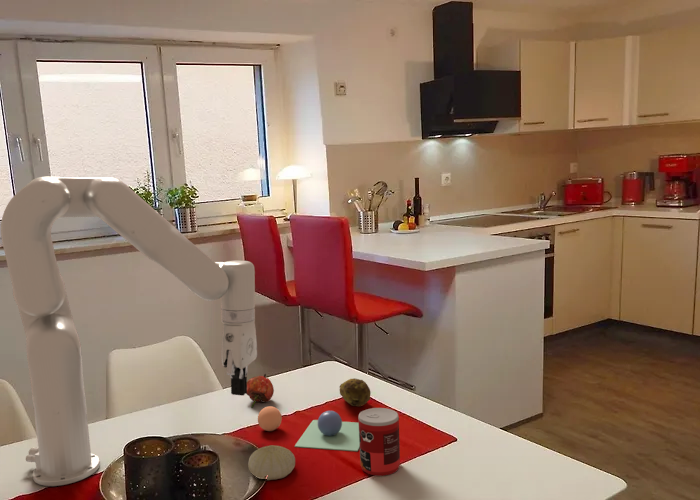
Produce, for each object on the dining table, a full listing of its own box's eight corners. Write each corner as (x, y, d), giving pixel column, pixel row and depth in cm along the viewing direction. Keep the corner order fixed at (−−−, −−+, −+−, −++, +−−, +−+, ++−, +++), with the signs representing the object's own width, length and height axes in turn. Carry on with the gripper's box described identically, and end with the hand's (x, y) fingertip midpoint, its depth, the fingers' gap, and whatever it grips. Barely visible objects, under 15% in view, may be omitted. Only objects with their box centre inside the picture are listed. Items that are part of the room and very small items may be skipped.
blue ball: (339, 419, 138) (337, 442, 139) (345, 409, 143) (343, 432, 144) (315, 414, 139) (313, 437, 140) (322, 404, 145) (320, 426, 146)
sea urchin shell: (291, 475, 121) (261, 446, 121) (265, 501, 123) (236, 472, 123) (304, 453, 130) (276, 426, 130) (280, 477, 131) (252, 450, 132)
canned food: (360, 458, 130) (358, 407, 129) (399, 457, 130) (397, 406, 129) (359, 477, 123) (357, 423, 121) (401, 476, 123) (399, 422, 121)
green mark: (294, 446, 137) (294, 445, 137) (313, 420, 150) (313, 419, 150) (357, 451, 134) (357, 450, 134) (370, 424, 147) (370, 423, 147)
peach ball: (272, 407, 142) (281, 429, 142) (279, 399, 148) (288, 421, 148) (250, 415, 144) (260, 437, 144) (258, 407, 149) (267, 429, 149)
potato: (373, 396, 164) (372, 367, 163) (370, 416, 151) (369, 384, 150) (341, 396, 165) (339, 367, 164) (335, 416, 152) (334, 384, 151)
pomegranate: (269, 416, 160) (285, 383, 166) (253, 400, 155) (271, 366, 161) (247, 414, 164) (264, 381, 170) (231, 398, 160) (249, 365, 166)
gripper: (240, 323, 135) (241, 406, 137) (265, 309, 149) (266, 385, 152) (208, 321, 137) (209, 403, 139) (236, 307, 151) (237, 382, 153)
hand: (239, 393), depth 145 cm, fingers closed
